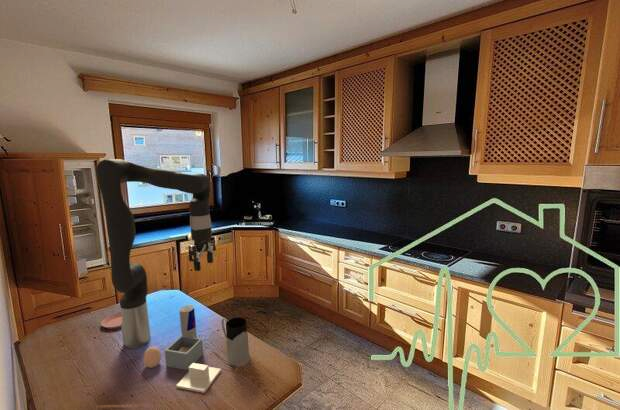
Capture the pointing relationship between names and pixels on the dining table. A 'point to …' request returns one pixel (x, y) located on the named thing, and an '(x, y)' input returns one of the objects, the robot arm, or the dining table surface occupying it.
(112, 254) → the robot arm
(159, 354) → the egg
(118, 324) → the plate
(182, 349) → the walnut block
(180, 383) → the lid
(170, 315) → the dining table surface
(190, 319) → the beverage can
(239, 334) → the glass holder
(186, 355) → the tin box
